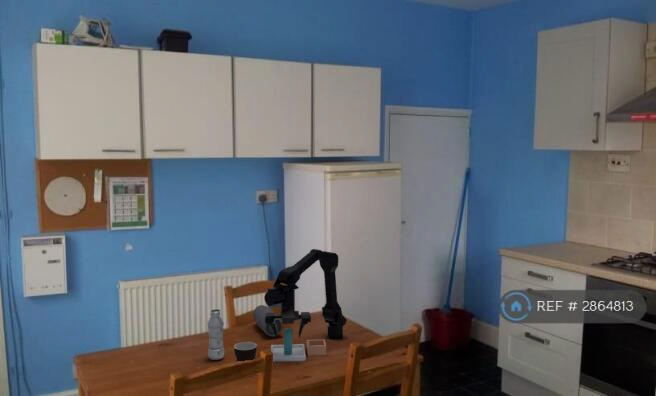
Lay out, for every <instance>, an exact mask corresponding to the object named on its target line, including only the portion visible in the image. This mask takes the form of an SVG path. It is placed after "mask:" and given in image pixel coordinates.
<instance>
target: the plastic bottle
mask: <svg viewBox="0 0 656 396" xmlns="http://www.w3.org/2000/svg"><path fill="white" fill-rule="evenodd" d="M207 330H208V339H209V340H208V350H207V356H208V359H210V360H212V361H219V360H222V359H223V357H224V356H225V348H224V343H223V342H224V341H223V336H224V335H223V332H224V320H223V318H222V317H221V309H217V308H216V309H211V310H210V318H209V319H208V321H207Z"/></svg>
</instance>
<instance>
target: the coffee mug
mask: <svg viewBox="0 0 656 396" xmlns="http://www.w3.org/2000/svg"><path fill="white" fill-rule="evenodd" d="M257 347H258V345H257V343H255V342H253V341H243V342H238V343H235V344H234V345H233V349H234V350H233V351H234V358H235V363H236V362H237V361H245V360H253V359H255V360H256V357H257V356H256V355H257Z"/></svg>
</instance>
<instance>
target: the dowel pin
mask: <svg viewBox="0 0 656 396" xmlns="http://www.w3.org/2000/svg"><path fill="white" fill-rule="evenodd" d="M292 344H293V328H290V327H286V328H284V329H283V345H284V354H285V355H290V354H292Z"/></svg>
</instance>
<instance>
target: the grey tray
mask: <svg viewBox="0 0 656 396" xmlns="http://www.w3.org/2000/svg"><path fill="white" fill-rule="evenodd" d="M305 349H306V348H305V344H304V343H297V344H293V343H292V354H290V355H285V354H284V344H271V345H270V353H271V352H272V353H273V362H272V363H276V362H277V363H278V362H279V363H280V362H282V363H283V362H305V361H307V360H306V358H307V357H306V355H307V354H306V350H305Z"/></svg>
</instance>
